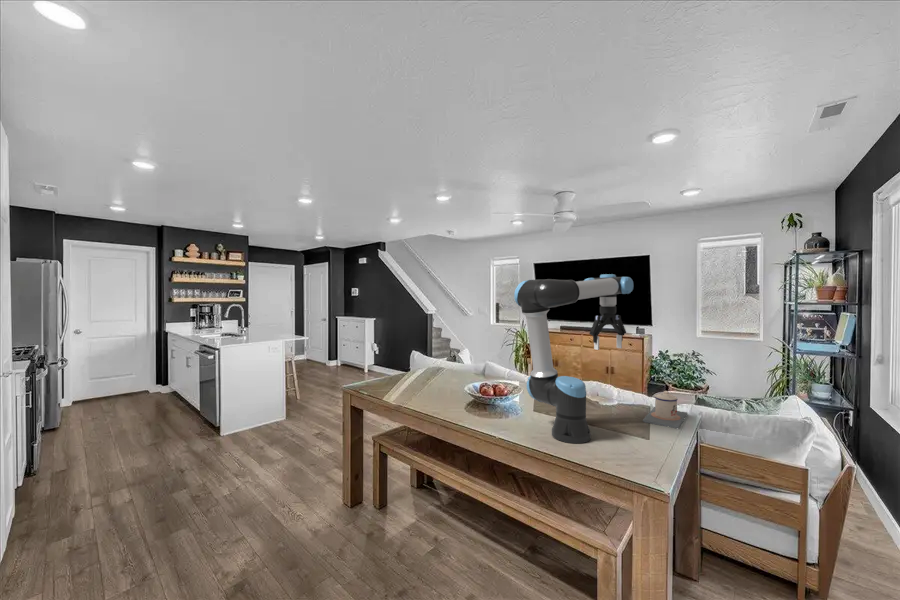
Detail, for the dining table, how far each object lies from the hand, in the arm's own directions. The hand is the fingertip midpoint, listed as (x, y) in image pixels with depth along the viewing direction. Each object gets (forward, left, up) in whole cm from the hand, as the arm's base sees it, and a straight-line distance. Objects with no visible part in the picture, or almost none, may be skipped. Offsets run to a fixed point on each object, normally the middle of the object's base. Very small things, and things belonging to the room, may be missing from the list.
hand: (608, 348), depth 187 cm
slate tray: (+17, -18, -31) cm, 39 cm away
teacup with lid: (+18, -18, -30) cm, 39 cm away
